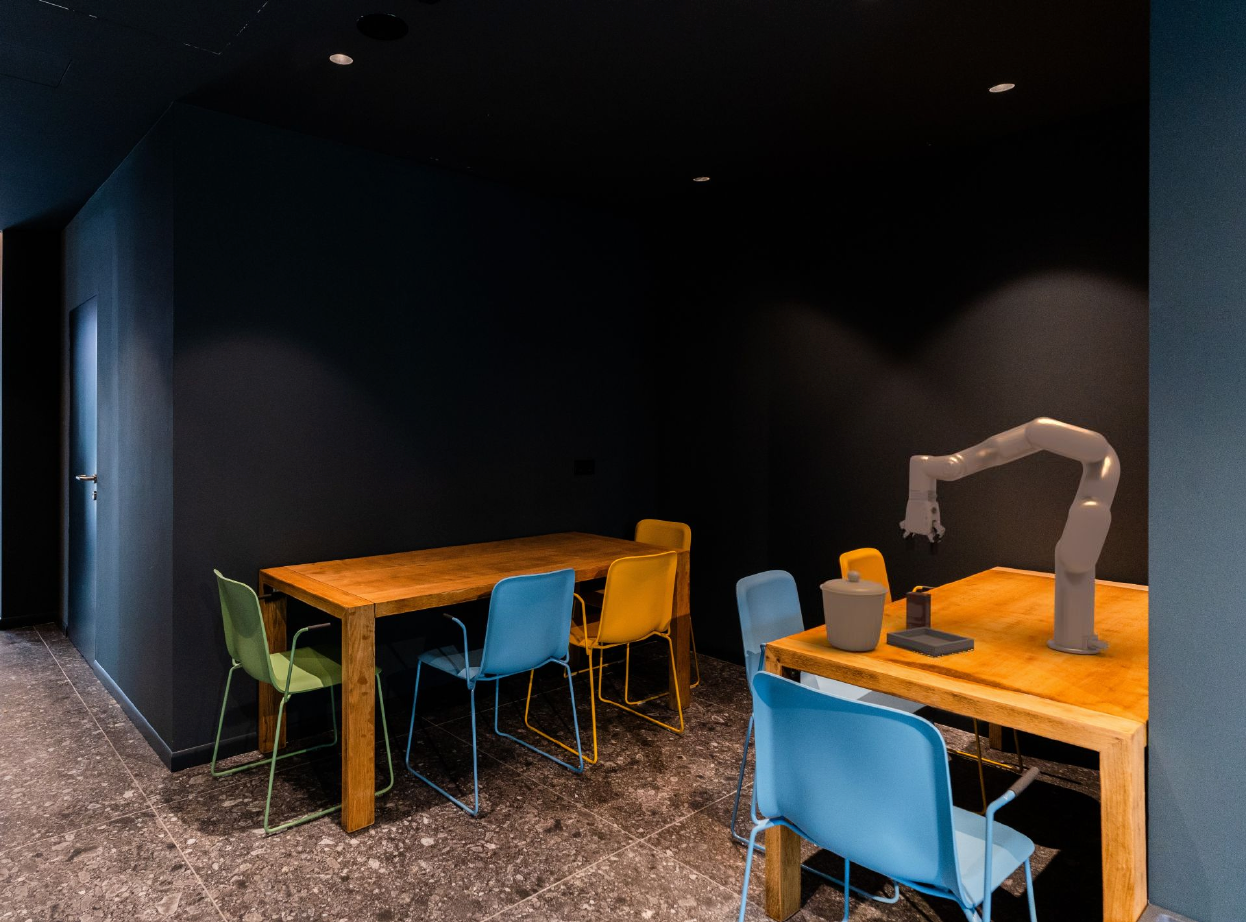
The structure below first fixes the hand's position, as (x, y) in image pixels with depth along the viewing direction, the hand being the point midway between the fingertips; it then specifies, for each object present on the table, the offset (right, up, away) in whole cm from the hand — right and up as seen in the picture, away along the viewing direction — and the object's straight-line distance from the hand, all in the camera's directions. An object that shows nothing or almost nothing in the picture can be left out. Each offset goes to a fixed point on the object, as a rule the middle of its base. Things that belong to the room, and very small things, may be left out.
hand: (921, 553), depth 227 cm
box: (-2, -24, -3) cm, 24 cm away
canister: (-26, -24, -19) cm, 40 cm away
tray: (-5, -24, -18) cm, 30 cm away
